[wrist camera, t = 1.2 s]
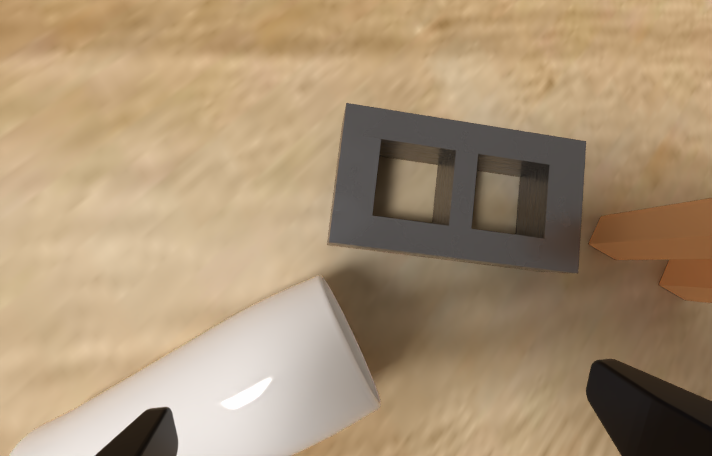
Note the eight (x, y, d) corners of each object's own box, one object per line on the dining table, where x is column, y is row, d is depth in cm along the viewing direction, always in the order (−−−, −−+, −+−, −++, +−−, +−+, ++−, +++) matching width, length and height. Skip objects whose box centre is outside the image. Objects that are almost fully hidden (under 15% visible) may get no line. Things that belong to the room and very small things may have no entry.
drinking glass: (64, 390, 20) (321, 266, 21) (121, 503, 21) (373, 375, 22) (-67, 468, 14) (317, 281, 15) (19, 637, 14) (393, 440, 15)
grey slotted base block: (552, 156, 24) (586, 141, 21) (544, 272, 23) (578, 273, 20) (342, 123, 23) (346, 103, 20) (326, 244, 22) (328, 242, 19)
